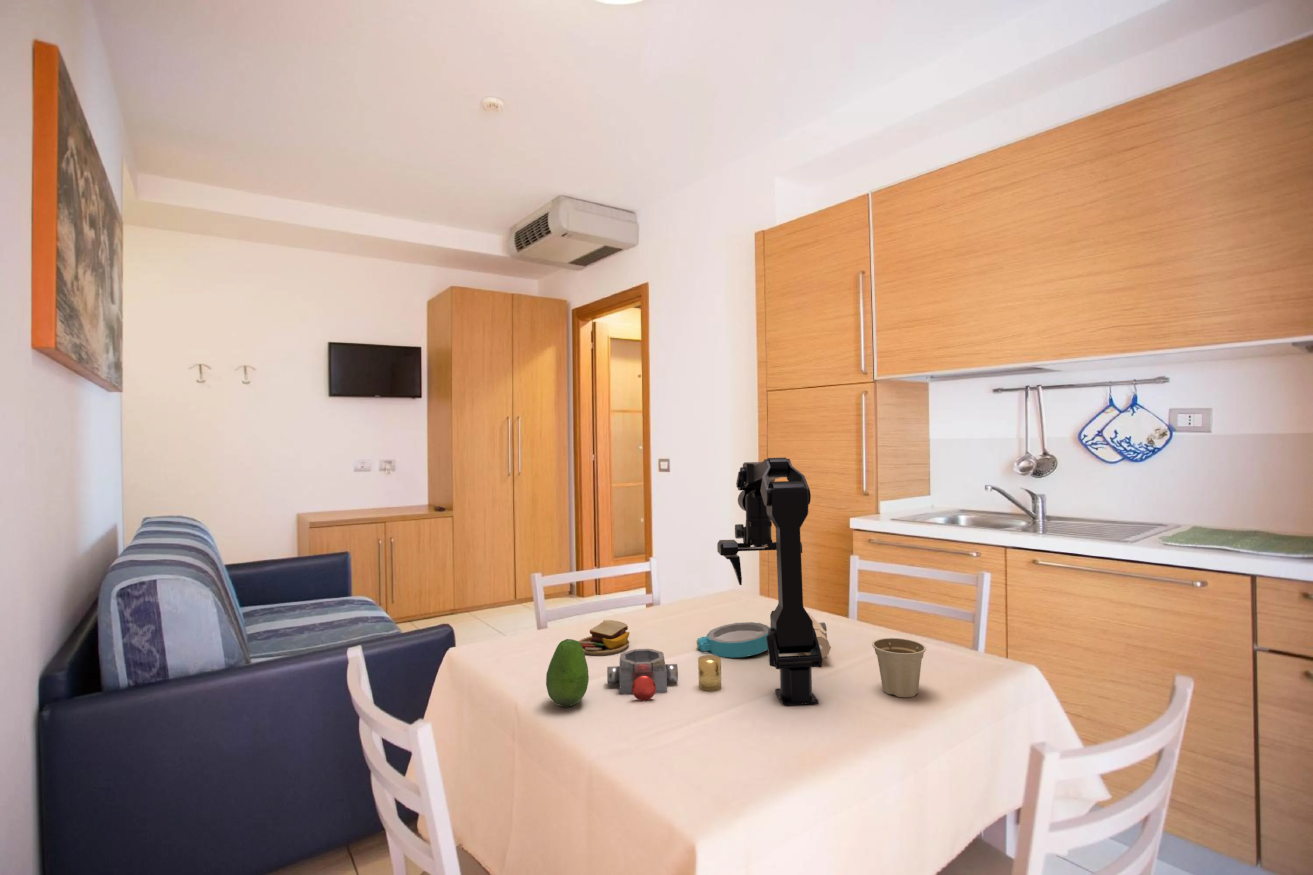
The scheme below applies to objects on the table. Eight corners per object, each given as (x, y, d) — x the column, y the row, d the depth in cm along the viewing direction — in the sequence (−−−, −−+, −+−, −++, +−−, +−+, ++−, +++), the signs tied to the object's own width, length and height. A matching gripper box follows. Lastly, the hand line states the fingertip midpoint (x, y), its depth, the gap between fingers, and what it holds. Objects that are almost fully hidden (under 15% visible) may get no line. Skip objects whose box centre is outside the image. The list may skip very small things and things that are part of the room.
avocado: (593, 709, 111) (591, 642, 111) (549, 716, 109) (547, 647, 109) (585, 692, 118) (584, 630, 119) (544, 698, 116) (542, 634, 116)
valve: (681, 698, 115) (680, 669, 115) (606, 702, 114) (606, 672, 114) (675, 673, 127) (674, 647, 127) (608, 676, 126) (607, 649, 126)
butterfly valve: (702, 683, 129) (845, 665, 129) (697, 650, 129) (840, 632, 129) (696, 642, 156) (815, 627, 155) (693, 615, 156) (811, 600, 155)
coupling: (723, 691, 118) (722, 662, 118) (700, 692, 118) (699, 663, 118) (719, 682, 122) (718, 654, 122) (697, 683, 122) (696, 655, 122)
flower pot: (862, 686, 118) (861, 641, 119) (900, 678, 122) (898, 634, 122) (899, 705, 110) (898, 656, 110) (938, 695, 113) (937, 648, 114)
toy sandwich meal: (565, 649, 145) (564, 629, 145) (607, 635, 155) (606, 616, 155) (601, 661, 137) (600, 639, 137) (643, 645, 146) (642, 625, 147)
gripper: (788, 511, 151) (790, 575, 151) (713, 513, 150) (714, 578, 150) (802, 516, 140) (803, 585, 140) (720, 519, 139) (722, 588, 139)
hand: (760, 584), depth 142 cm, fingers open, 9 cm apart
